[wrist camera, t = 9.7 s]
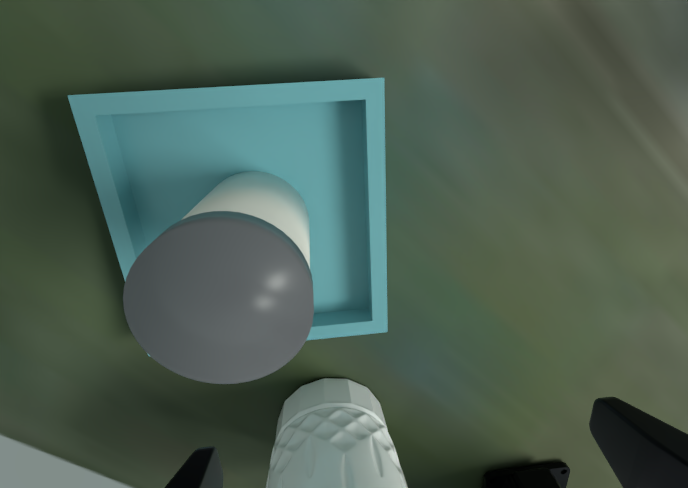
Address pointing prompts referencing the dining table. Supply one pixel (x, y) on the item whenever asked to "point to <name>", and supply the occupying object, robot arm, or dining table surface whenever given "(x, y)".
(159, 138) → the tray
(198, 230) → the spice jar
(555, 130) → the dining table surface
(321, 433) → the white cup
